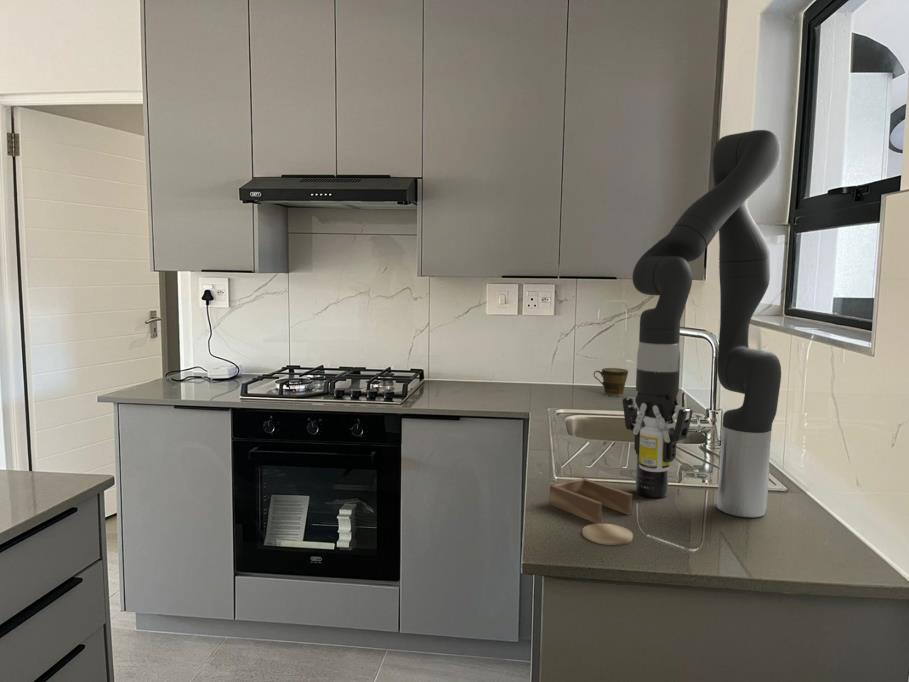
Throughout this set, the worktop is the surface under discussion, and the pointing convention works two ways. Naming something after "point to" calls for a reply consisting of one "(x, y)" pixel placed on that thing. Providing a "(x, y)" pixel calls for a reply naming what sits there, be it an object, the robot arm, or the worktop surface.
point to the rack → (589, 499)
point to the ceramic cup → (613, 380)
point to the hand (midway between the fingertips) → (654, 457)
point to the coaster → (607, 534)
